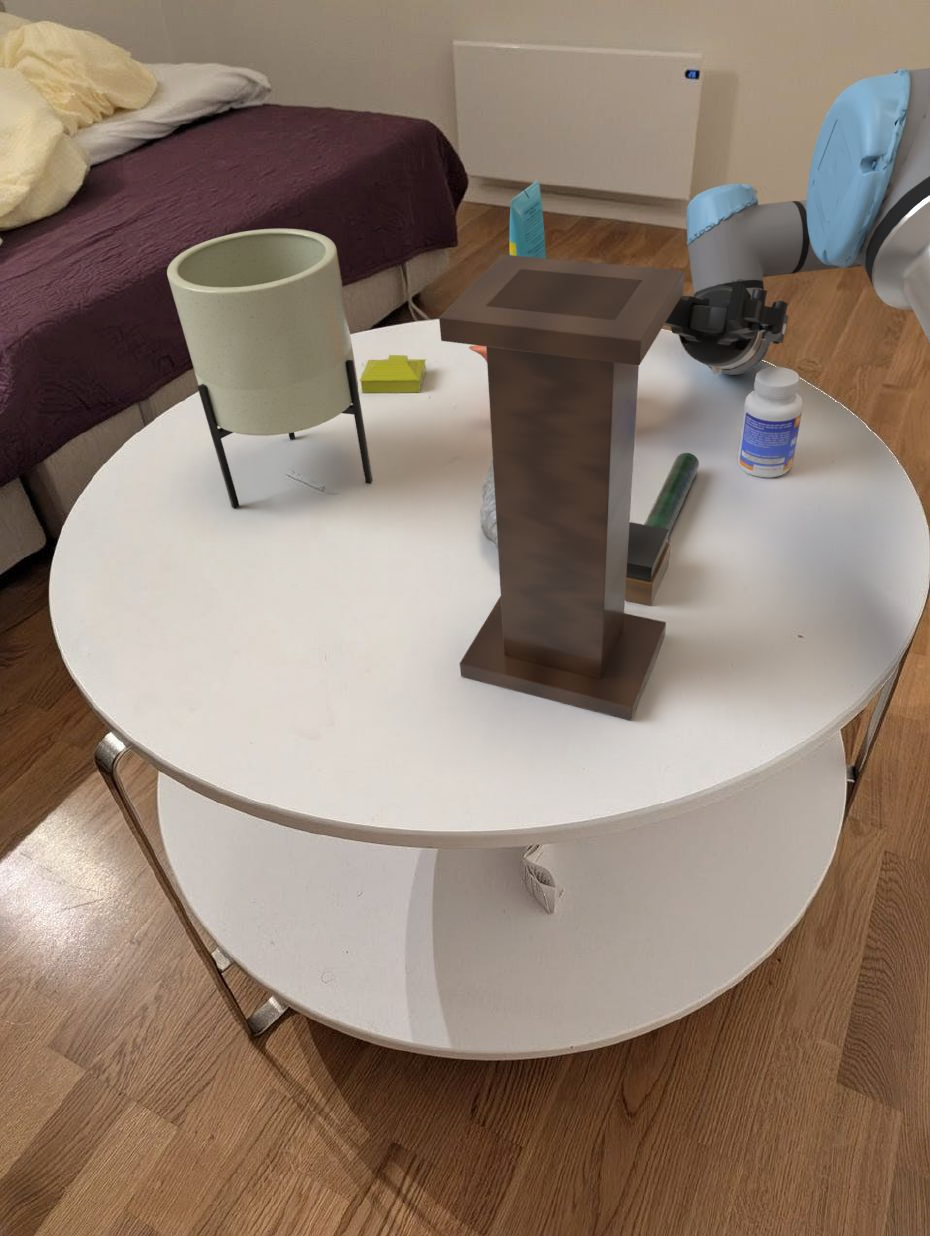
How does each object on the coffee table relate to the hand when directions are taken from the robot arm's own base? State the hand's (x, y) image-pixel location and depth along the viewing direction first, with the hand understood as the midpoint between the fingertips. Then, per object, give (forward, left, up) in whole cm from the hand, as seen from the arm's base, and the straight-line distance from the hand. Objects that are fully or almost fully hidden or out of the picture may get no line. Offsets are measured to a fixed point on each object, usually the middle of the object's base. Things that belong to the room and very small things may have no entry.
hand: (684, 296), depth 73 cm
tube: (+25, -30, -22) cm, 45 cm away
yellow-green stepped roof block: (+38, -18, -22) cm, 48 cm away
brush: (0, +2, -22) cm, 22 cm away
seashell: (+13, +6, -22) cm, 26 cm away
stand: (+3, +21, -22) cm, 30 cm away
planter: (+38, +4, -22) cm, 44 cm away
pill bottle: (-7, -12, -22) cm, 26 cm away
